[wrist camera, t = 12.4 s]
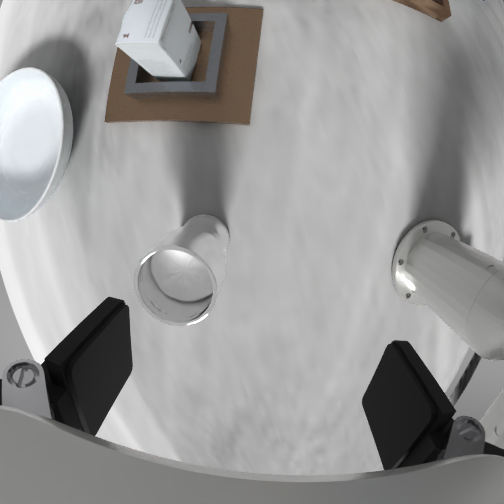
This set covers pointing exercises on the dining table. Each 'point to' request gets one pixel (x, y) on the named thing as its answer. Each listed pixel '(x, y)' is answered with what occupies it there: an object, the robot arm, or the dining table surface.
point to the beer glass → (184, 272)
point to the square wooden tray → (430, 7)
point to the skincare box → (160, 38)
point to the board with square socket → (195, 75)
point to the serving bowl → (32, 140)
